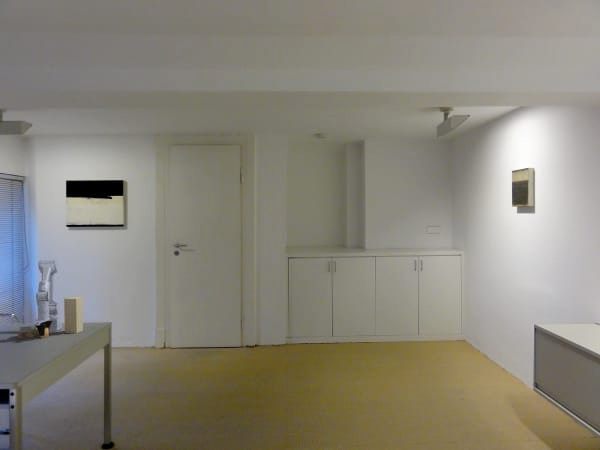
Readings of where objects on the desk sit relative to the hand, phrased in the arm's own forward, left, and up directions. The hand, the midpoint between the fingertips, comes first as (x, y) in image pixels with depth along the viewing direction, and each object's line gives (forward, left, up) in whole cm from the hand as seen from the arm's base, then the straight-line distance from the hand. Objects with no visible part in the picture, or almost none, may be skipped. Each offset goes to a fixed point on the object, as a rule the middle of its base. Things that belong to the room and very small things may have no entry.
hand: (44, 334), depth 255 cm
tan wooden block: (-13, -10, -2) cm, 16 cm away
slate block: (+11, -4, +2) cm, 12 cm away
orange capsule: (0, 0, -1) cm, 1 cm away
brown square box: (+11, -4, -2) cm, 12 cm away
